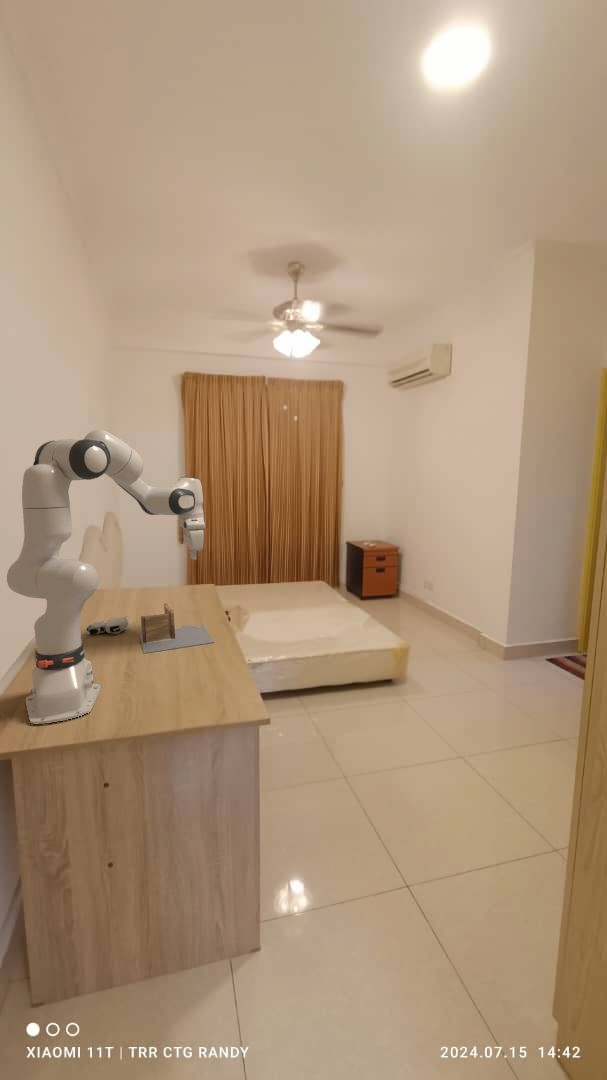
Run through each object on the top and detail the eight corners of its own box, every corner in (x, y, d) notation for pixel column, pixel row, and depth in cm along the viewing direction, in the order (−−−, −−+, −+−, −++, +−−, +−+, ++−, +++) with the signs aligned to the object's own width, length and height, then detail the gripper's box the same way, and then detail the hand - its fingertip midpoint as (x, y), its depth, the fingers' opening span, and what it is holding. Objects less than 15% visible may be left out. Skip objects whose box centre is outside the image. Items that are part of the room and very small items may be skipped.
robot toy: (84, 642, 176) (127, 635, 179) (82, 630, 175) (125, 623, 178) (90, 631, 187) (130, 624, 191) (88, 620, 187) (129, 614, 190)
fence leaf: (168, 627, 186) (166, 603, 185) (173, 636, 176) (172, 610, 175) (165, 628, 186) (163, 603, 184) (170, 637, 176) (169, 611, 174)
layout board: (214, 642, 171) (213, 641, 171) (144, 653, 162) (143, 652, 162) (202, 624, 191) (202, 623, 191) (139, 633, 182) (139, 632, 182)
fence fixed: (175, 639, 175) (174, 610, 173) (143, 644, 170) (141, 614, 168) (174, 638, 176) (173, 609, 174) (142, 642, 172) (140, 613, 170)
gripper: (178, 519, 181) (180, 554, 183) (187, 525, 162) (189, 565, 164) (195, 518, 183) (196, 553, 185) (205, 524, 165) (207, 563, 167)
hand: (193, 559), depth 175 cm, fingers closed
